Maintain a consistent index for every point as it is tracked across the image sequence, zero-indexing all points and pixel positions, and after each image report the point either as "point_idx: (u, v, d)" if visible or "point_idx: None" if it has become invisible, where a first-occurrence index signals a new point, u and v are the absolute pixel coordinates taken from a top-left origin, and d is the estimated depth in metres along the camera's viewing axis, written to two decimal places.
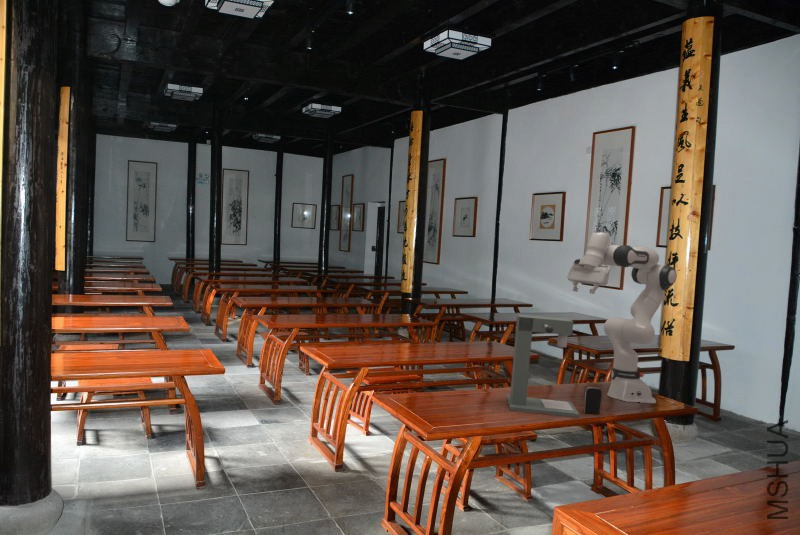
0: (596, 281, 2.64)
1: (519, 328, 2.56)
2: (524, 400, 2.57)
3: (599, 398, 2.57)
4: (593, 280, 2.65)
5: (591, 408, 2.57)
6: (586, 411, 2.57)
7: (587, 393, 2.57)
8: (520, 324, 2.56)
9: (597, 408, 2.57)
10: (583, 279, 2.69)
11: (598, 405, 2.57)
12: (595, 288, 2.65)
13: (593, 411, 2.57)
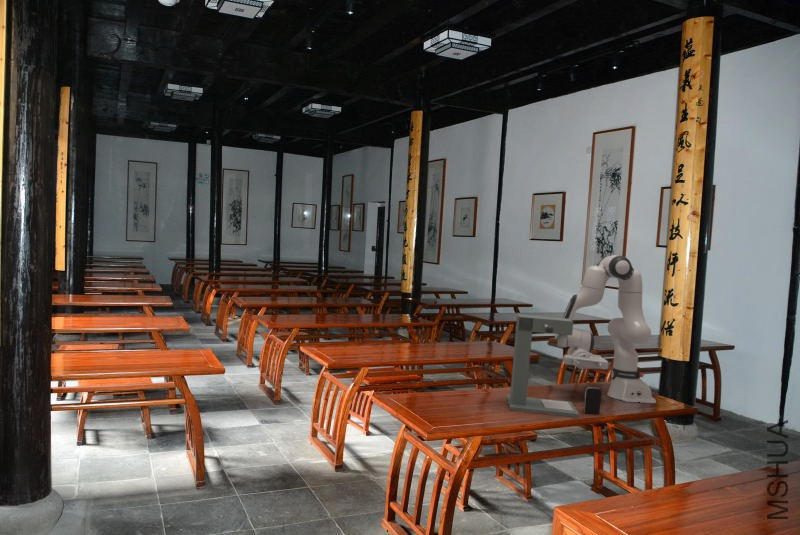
0: (571, 364, 2.76)
1: (519, 328, 2.56)
2: (524, 400, 2.57)
3: (599, 398, 2.57)
4: None
5: (591, 408, 2.57)
6: (586, 411, 2.57)
7: (587, 393, 2.57)
8: (520, 324, 2.56)
9: (597, 408, 2.57)
10: (586, 366, 2.75)
11: (598, 405, 2.57)
12: (574, 362, 2.73)
13: (593, 411, 2.57)
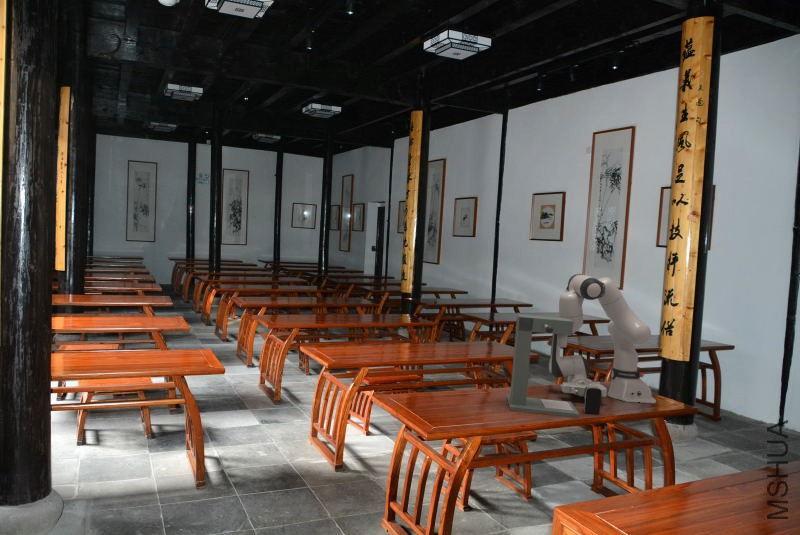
0: None
1: (519, 328, 2.56)
2: (524, 400, 2.57)
3: (599, 398, 2.57)
4: (573, 393, 2.75)
5: (591, 408, 2.57)
6: (586, 411, 2.57)
7: (587, 393, 2.57)
8: (520, 324, 2.56)
9: (597, 408, 2.57)
10: None
11: (598, 405, 2.57)
12: (572, 391, 2.72)
13: (593, 411, 2.57)
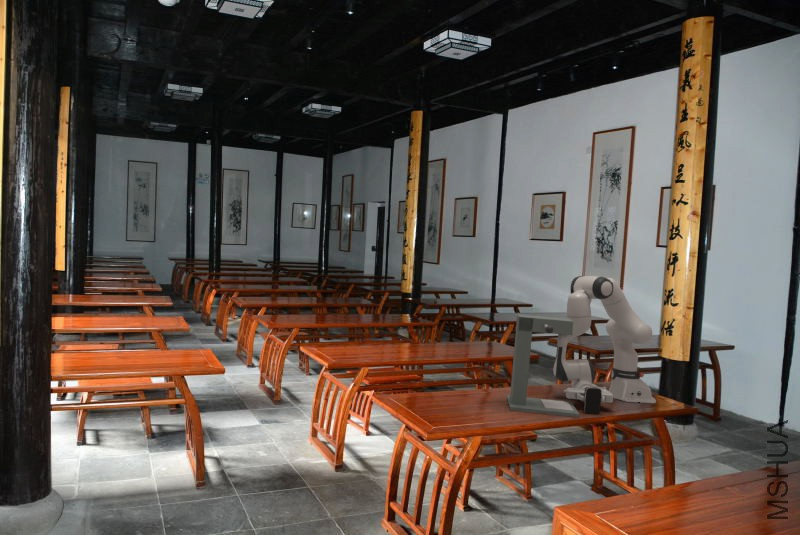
0: None
1: (519, 328, 2.56)
2: (524, 400, 2.57)
3: (599, 398, 2.57)
4: (578, 399, 2.64)
5: (591, 408, 2.57)
6: (586, 411, 2.57)
7: (587, 393, 2.57)
8: (520, 324, 2.56)
9: (597, 408, 2.57)
10: None
11: (598, 405, 2.57)
12: (578, 397, 2.61)
13: (593, 411, 2.57)
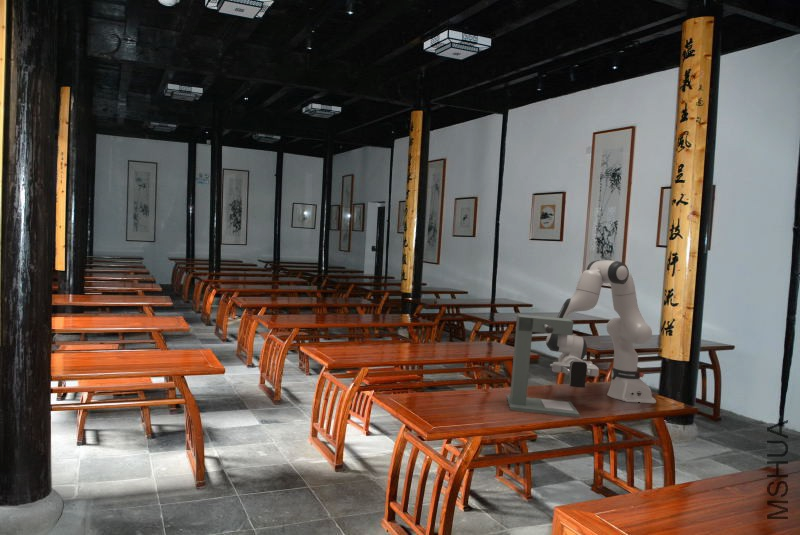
0: (560, 372, 2.64)
1: (519, 328, 2.56)
2: (524, 400, 2.57)
3: (584, 372, 2.57)
4: (563, 372, 2.64)
5: (576, 382, 2.57)
6: (571, 385, 2.57)
7: (572, 367, 2.57)
8: (520, 324, 2.56)
9: (582, 382, 2.57)
10: None
11: (583, 378, 2.57)
12: (564, 370, 2.61)
13: (578, 385, 2.57)
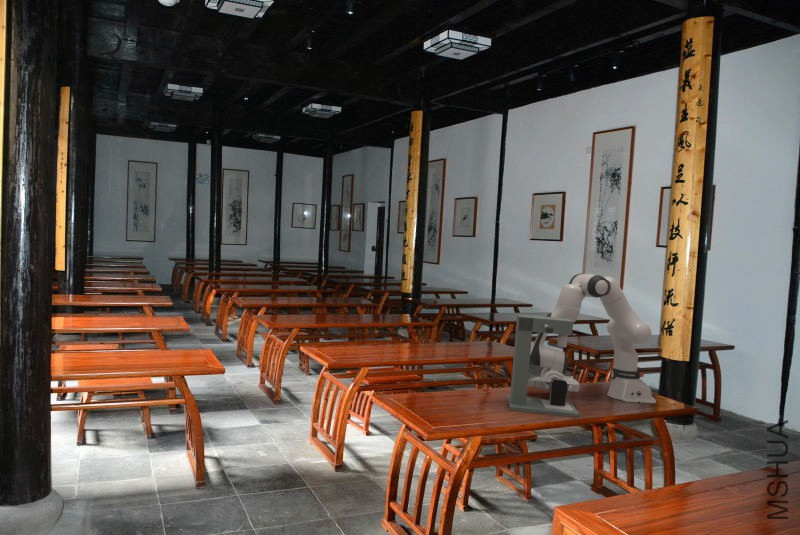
0: None
1: (519, 328, 2.56)
2: (524, 400, 2.57)
3: (564, 390, 2.58)
4: None
5: (556, 400, 2.58)
6: (551, 403, 2.59)
7: (552, 385, 2.58)
8: (520, 324, 2.56)
9: (562, 400, 2.58)
10: None
11: (563, 397, 2.58)
12: (544, 385, 2.62)
13: (558, 403, 2.58)
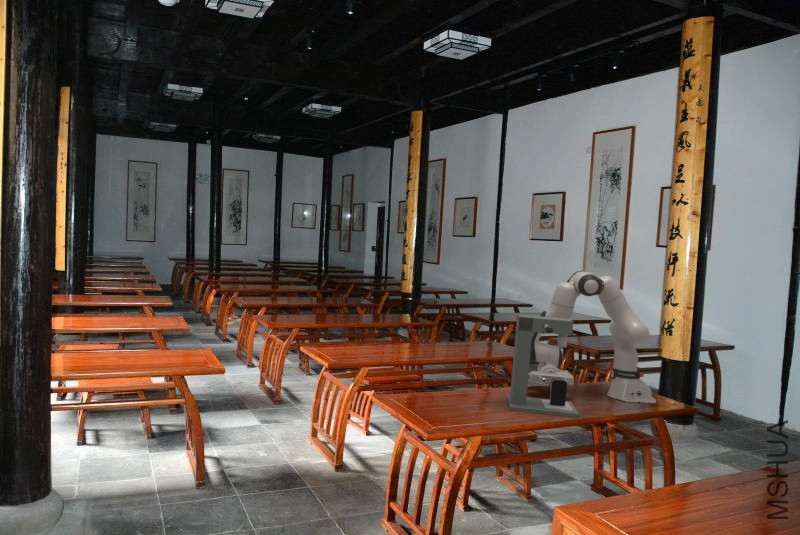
0: (537, 381, 2.78)
1: (519, 328, 2.56)
2: (524, 400, 2.57)
3: (564, 390, 2.58)
4: (540, 381, 2.78)
5: (556, 400, 2.58)
6: (551, 403, 2.59)
7: (552, 385, 2.58)
8: (520, 324, 2.56)
9: (562, 400, 2.58)
10: None
11: (563, 397, 2.58)
12: (540, 379, 2.75)
13: (558, 403, 2.58)
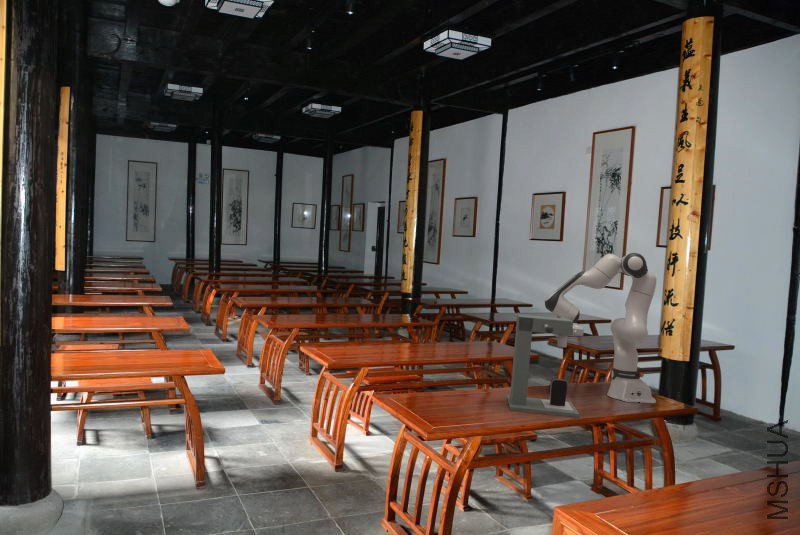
0: None
1: (519, 328, 2.56)
2: (524, 400, 2.57)
3: (564, 390, 2.58)
4: None
5: (556, 400, 2.58)
6: (551, 403, 2.59)
7: (552, 385, 2.58)
8: (520, 324, 2.56)
9: (562, 400, 2.58)
10: None
11: (563, 397, 2.58)
12: None
13: (558, 403, 2.58)
